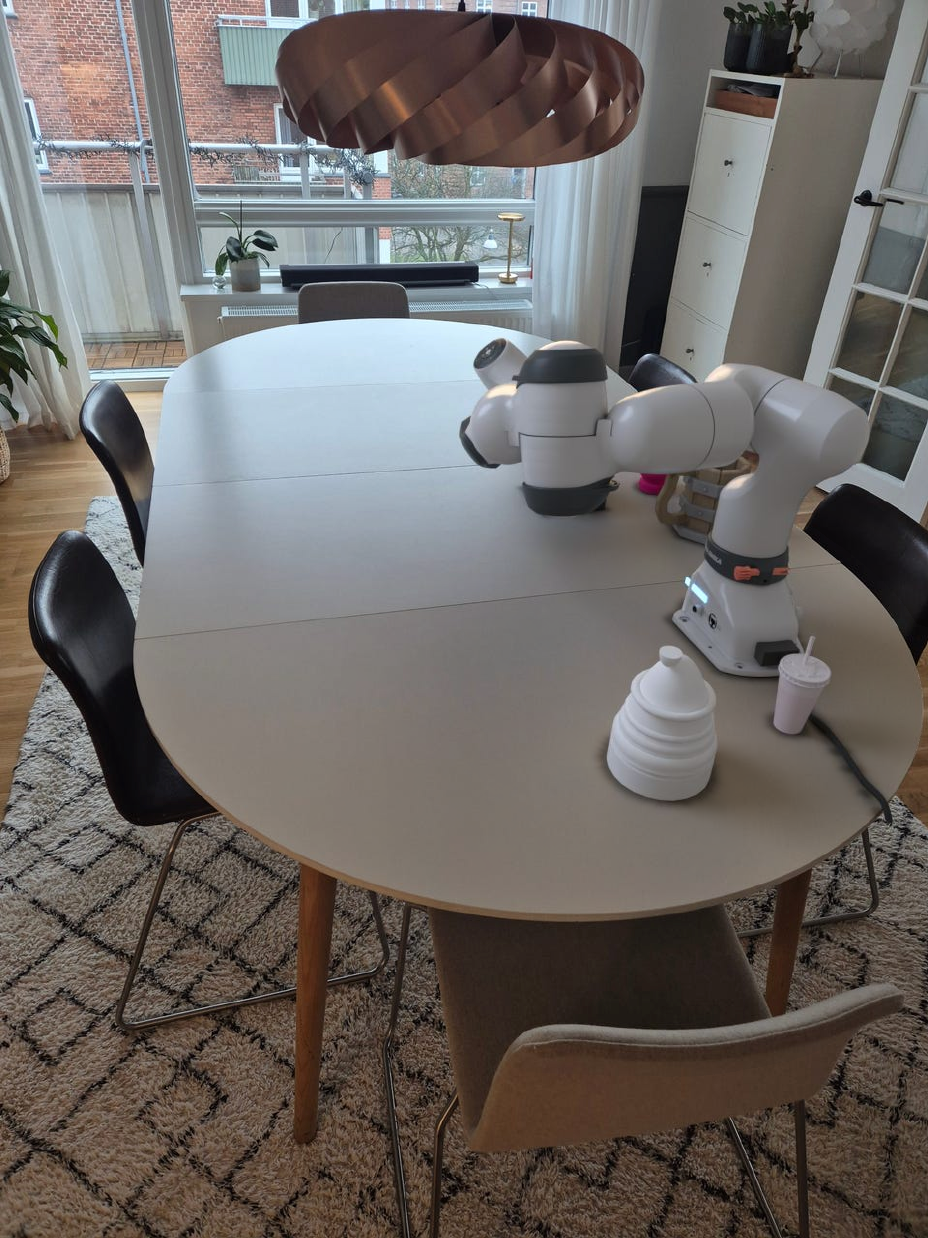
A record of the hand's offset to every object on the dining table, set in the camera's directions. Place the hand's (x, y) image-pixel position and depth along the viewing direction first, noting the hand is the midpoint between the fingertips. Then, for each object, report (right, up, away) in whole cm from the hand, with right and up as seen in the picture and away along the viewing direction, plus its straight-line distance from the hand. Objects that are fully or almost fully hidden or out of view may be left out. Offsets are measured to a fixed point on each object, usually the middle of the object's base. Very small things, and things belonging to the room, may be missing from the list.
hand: (571, 447), depth 169 cm
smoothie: (+23, -48, -52) cm, 74 cm away
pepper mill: (+18, -7, +12) cm, 23 cm away
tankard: (+22, -17, -4) cm, 28 cm away
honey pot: (+3, -52, -60) cm, 79 cm away
